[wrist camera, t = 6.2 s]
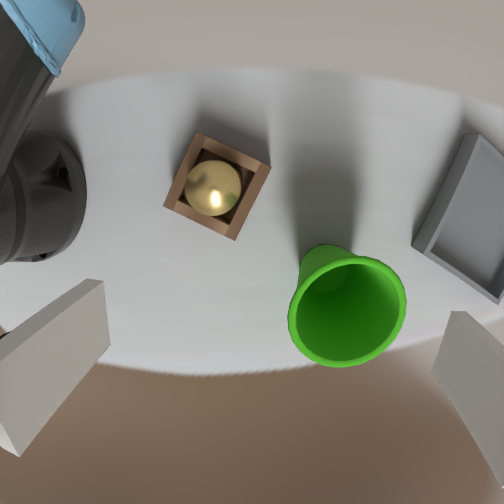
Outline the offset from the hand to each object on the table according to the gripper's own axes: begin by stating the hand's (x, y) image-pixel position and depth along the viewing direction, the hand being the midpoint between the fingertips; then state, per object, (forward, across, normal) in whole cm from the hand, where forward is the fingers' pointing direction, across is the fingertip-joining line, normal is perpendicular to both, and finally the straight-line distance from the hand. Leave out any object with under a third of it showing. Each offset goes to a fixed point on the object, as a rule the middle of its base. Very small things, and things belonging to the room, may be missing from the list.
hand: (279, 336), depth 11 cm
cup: (+22, +5, -4) cm, 23 cm away
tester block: (+21, -6, +4) cm, 22 cm away
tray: (+22, +24, +3) cm, 33 cm away
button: (+18, -6, +4) cm, 20 cm away
